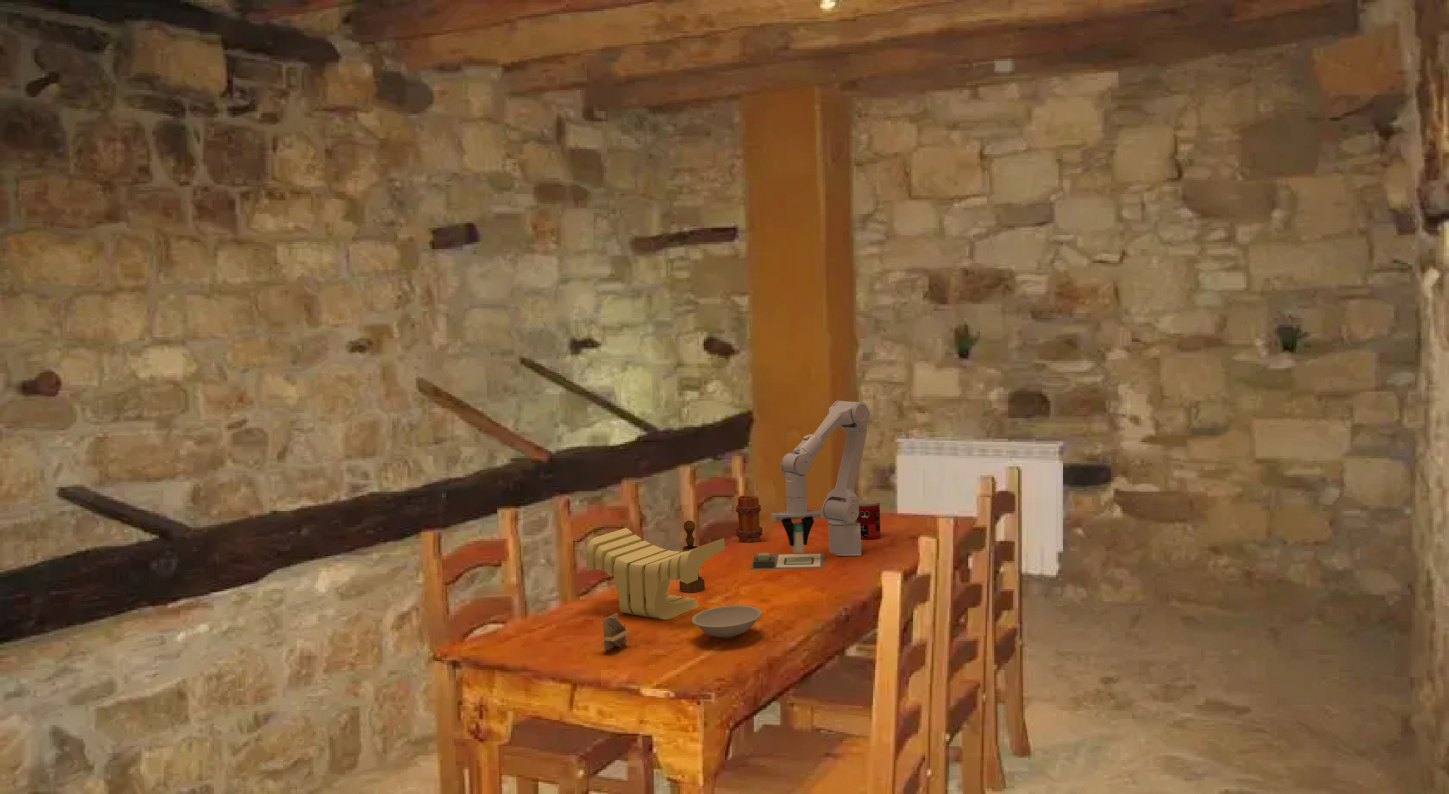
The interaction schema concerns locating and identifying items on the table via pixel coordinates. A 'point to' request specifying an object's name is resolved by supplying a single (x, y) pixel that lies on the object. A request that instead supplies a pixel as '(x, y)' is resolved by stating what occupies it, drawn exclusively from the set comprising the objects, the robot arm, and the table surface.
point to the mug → (748, 518)
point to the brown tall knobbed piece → (689, 529)
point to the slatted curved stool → (647, 572)
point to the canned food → (869, 519)
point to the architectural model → (613, 632)
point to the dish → (726, 620)
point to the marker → (798, 537)
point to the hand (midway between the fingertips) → (798, 544)
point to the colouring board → (790, 561)
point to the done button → (763, 557)
